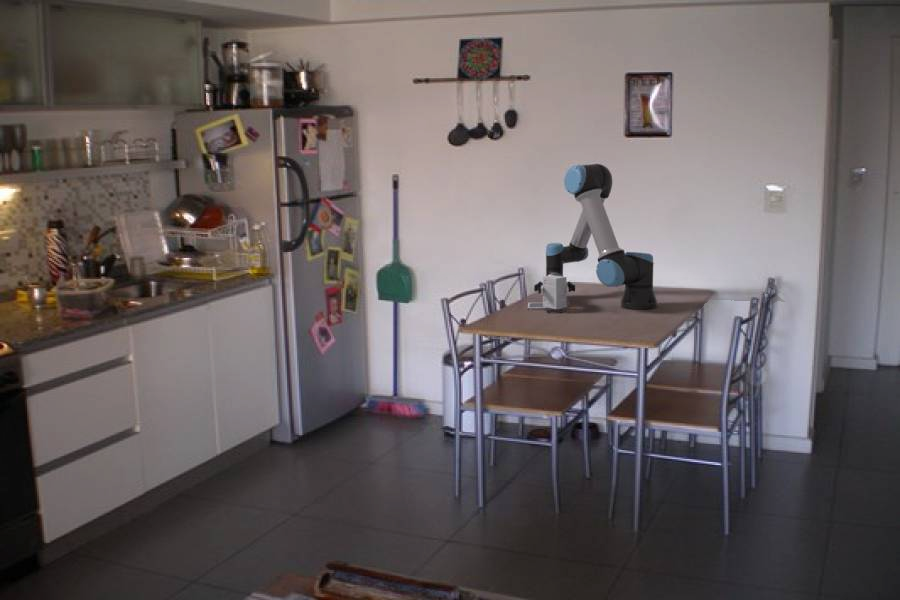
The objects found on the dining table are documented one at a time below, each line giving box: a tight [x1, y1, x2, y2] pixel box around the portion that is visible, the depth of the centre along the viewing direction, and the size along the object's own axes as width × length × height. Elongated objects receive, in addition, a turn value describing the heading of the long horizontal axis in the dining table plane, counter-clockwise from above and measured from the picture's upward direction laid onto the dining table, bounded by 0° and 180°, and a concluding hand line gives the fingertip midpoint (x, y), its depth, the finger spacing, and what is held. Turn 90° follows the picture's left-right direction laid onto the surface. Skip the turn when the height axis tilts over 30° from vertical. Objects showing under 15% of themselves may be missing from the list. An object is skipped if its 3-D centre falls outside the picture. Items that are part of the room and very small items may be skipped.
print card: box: [527, 302, 547, 310], centre depth 419 cm, size 9×11×1 cm
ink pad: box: [546, 308, 565, 314], centre depth 409 cm, size 7×7×1 cm
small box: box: [542, 275, 568, 309], centre depth 408 cm, size 8×6×13 cm
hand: (554, 291), depth 403 cm, fingers closed on small box, 10 cm apart
